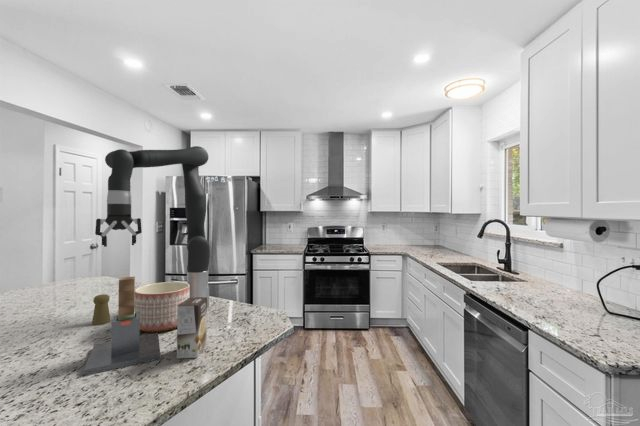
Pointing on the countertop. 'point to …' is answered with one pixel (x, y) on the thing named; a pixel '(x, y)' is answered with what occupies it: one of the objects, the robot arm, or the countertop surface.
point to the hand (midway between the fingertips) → (119, 245)
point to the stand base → (123, 347)
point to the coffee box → (191, 327)
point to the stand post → (126, 298)
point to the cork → (101, 310)
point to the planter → (160, 305)
